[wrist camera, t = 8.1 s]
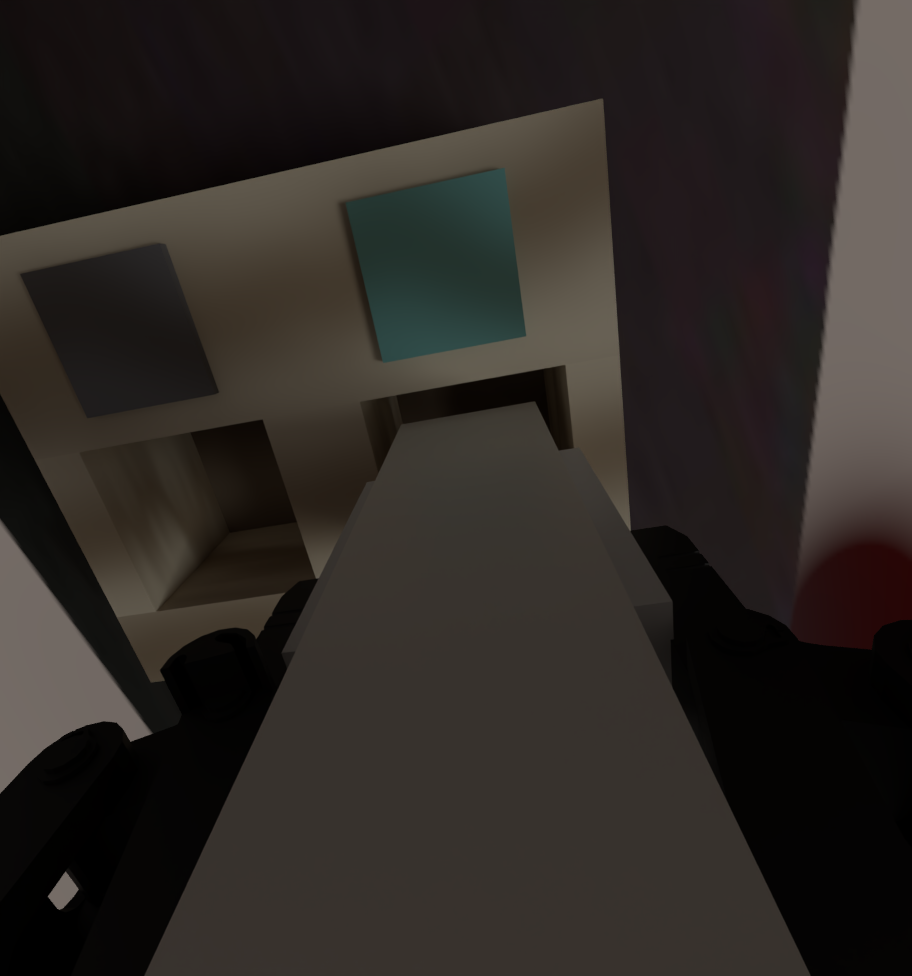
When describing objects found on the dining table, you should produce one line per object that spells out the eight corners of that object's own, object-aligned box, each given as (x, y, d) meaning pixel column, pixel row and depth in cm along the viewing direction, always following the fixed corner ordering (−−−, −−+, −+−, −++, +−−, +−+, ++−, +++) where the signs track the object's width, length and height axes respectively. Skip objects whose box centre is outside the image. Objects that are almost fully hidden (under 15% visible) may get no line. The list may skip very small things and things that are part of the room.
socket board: (592, 526, 24) (638, 624, 17) (230, 580, 26) (146, 688, 19) (557, 159, 19) (605, 94, 12) (99, 259, 20) (-85, 251, 14)
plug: (550, 522, 17) (827, 1417, 4) (428, 541, 17) (287, 1407, 4) (535, 401, 15) (912, 1189, 2) (401, 424, 15) (35, 1207, 3)
